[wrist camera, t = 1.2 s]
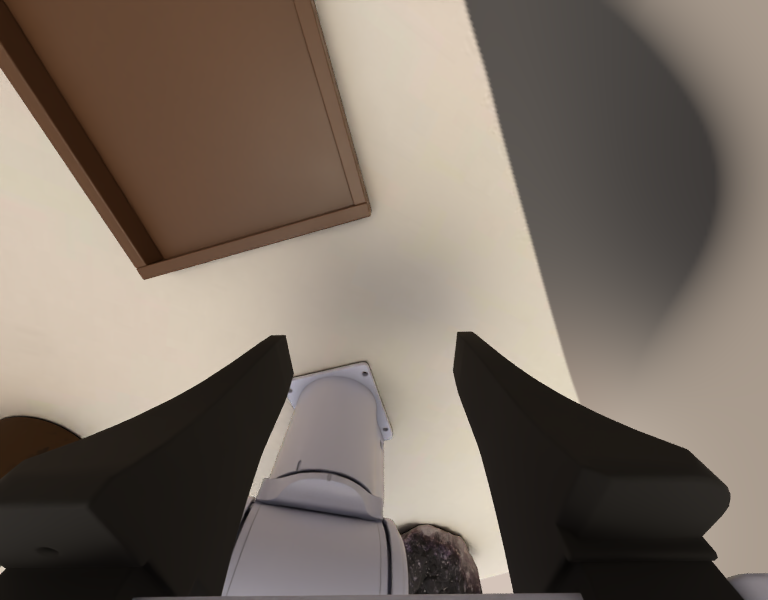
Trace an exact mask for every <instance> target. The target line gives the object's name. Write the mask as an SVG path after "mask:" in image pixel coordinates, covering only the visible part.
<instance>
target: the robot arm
mask: <svg viewBox="0 0 768 600" xmlns="http://www.w3.org/2000/svg"><path fill="white" fill-rule="evenodd" d="M363 372H367V373H363ZM453 373H454V377H455V382H456V386H457V390H458V394H459V396H460V399H461V402H462V405H463V407H464V410H465V413H466V415H467V418H468V421H469V423H470V426H471V428H472V431H473V434H474V436H475V439H476V442H477V445H478V448H479V451H480V454H481V457H482V461H483V465H484V468H485V472H486V476H487V480H488V483H489V487H490V491H491V495H492V499H493V503H494V507H495V511H496V516H497V520H498V524H499V529H500V533H501V537H502V541H503V546H504V550H505V555H506V560H507V564H508V569H509V574H510V578H511V583H512V588H513V593H514V594H416V595H408V567H407V558H406V552H405V547H404V543H403V540H402V537H401V535H400V534H399V532H398V529H397V527H396V525H395V523H394V522H393V520H391V519H389V518H383V505H384V441H385V440H390V439H392V438H393V431H392V429H391V426H390V423H389V420H388V418H387V415H386V412H385V409H384V406H383V404H382V401H381V398H380V395H379V393H378V390H377V387H376V384H375V381H374V379H373V376H372V373H371V370H370V368H369V365H368V364H367V363H365V362H361V363H357V364H352V365H348V366H343V367H339V368H335V369H330V370H326V371H321V372H317V373H313V374H308V375H304V376H299V377H295V378H293V374H294V372H293V368H292V363H291V358H290V354H289V349H288V344H287V340H286V335H271V336H269V337H268V338H266V339H265V340H263V341H262V342H260V343H259V344H257V345H256V346H255V347H253V348H252V349H250V350H249V351H248V352H246V353H245V354H243V355H242V356H240V357H239V358H238V359H236V360H235V361H233V362H232V363H230V364H229V365H227V366H226V367H224V368H223V369H221V370H220V371H218V372H217V373H215V374H214V375H212V376H211V377H209V378H208V379H206V380H204V381H203V382H201V383H199V384H198V385H196V386H194V387H193V388H191V389H189V390H187V391H185V392H184V393H182V394H180V395H178V396H176V397H174V398H173V399H171V400H169V401H167V402H165V403H163V404H161V405H158V406H156V407H154V408H152V409H150V410H148V411H146V412H144V413H142V414H140V415H138V416H136V417H134V418H131V419H129V420H127V421H124V422H122V423H120V424H118V425H115V426H113V427H110V428H108V429H106V430H103V431H101V432H98V433H96V434H93V435H91V436H88V437H86V438H83V439H81V440H78V441H75V442H72V443H70V444H67V445H64V446H61V447H59V448H56V449H53V450H50V451H48V452H45V453H42V454H39V455H37V456H34V457H31V458H28V459H25V460H23V461H22V462H21V463H19V464H18V465H17V466H16V467H14V468H13V469H12V470H11V471H10V472H8V473H7V474H6V475H5V476H4V477H2V478H1V479H0V565H1V566H3V567H4V568H6V569H5V570H4V571H3V572H2V573H1V575H0V600H768V573H759V574H758V573H757V574H739V575H735V576H731V577H728V578H727V579H726V578H725V577H724V575H723V574H722V573H721V572H720V570H719V569H718V568H717V567H716V566H715V564H714V563H713V562H712V561H714V560H716V559H717V558H718V557H717V554H716V552H715V551H714V550H713V548H712V547H711V546H710V545H709V544H708V543H707V541H706V540H705V539H704V538H703V537H702V536H703V535H704V534H705V533H706V532H707V531H708V530H709V529H710V528H711V526H713V525H714V523H715V522H716V521H717V520H718V519H719V518H720V517H721V516H722V515H723V514H724V512H725V511H726V510H727V508H728V507H729V503H730V492H729V490H728V487H727V486H726V485H725V484H724V483H723V482H722V481H721V480H720V479H719V478H718V477H717V476H715V475H714V474H713V473H712V472H711V471H710V470H709V469H708V468H707V467H706V466H705V465H704V464H703V463H702V462H700V461H699V460H698V459H697V458H696V457H695V456H694V455H693V454H692V453H691V452H690V451H689V450H687V449H685V448H682V447H680V446H677V445H674V444H671V443H669V442H666V441H664V440H661V439H658V438H656V437H653V436H650V435H648V434H645V433H642V432H640V431H637V430H635V429H633V428H630V427H628V426H626V425H623V424H621V423H619V422H616V421H614V420H611V419H609V418H607V417H605V416H603V415H601V414H598V413H596V412H594V411H592V410H590V409H588V408H586V407H584V406H582V405H580V404H578V403H576V402H574V401H572V400H570V399H568V398H567V397H565V396H563V395H561V394H559V393H557V392H556V391H554V390H552V389H551V388H549V387H547V386H546V385H544V384H542V383H541V382H539V381H537V380H536V379H534V378H533V377H531V376H530V375H528V374H527V373H525V372H524V371H523V370H521V369H520V368H518V367H517V366H515V365H514V364H513V363H511V362H510V361H509V360H507V359H506V358H505V357H503V356H502V355H501V354H500V353H498V352H497V351H496V350H495V349H493V348H492V347H491V346H490V345H488V344H487V343H486V342H485V341H483V340H482V339H481V338H480V337H479V336H477V335H476V334H475V333H473V332H457V340H456V349H455V358H454V366H453ZM290 389H292V390H290ZM287 397H288V399H289V401H290V403H291V404H292V406H293V408H294V413H293V415H292V418H291V421H290V423H289V426H288V429H287V431H286V434H285V437H284V439H283V442H282V445H281V447H280V450H279V453H278V455H277V458H276V461H275V463H274V466H273V469H272V471H271V474H270V477H269V478H264V479H263V482H262V484H261V487H260V489H259V492H258V495H257V497H256V500H255V497H251V496H249V492H250V489H251V486H252V483H253V480H254V477H255V474H256V471H257V467H258V464H259V461H260V458H261V456H262V453H263V451H264V448H265V446H266V443H267V441H268V439H269V437H270V434H271V432H272V430H273V428H274V425H275V423H276V421H277V419H278V416H279V414H280V412H281V409H282V407H283V405H284V403H285V400H286V398H287Z"/></svg>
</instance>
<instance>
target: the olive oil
mask: <svg viewBox="0 0 768 600" xmlns="http://www.w3.org/2000/svg"><path fill="white" fill-rule="evenodd" d="M78 440H80V439H79V438H78V437H76V436H75V435H74V434H72V433H71V432H69V431H67V430H65V429H64V428H62V427H60V426H57V425H55V424H53V423H50V422H47V421H43V420H40V419H35V418H29V417H10V418H5V419H1V420H0V479H1V478H2V477H4V476H5V475H6V474H7V473H8V472H10V471H11V470H12V469H13V468H14V467H16V466H17V465H18V464H19V463H21V462H22V461H23V460H25V459H28V458H31V457H34V456H37V455H39V454H42V453H45V452H48V451H50V450H53V449H56V448H59V447H61V446H64V445H67V444H70V443H72V442H75V441H78ZM0 567H1V565H0Z"/></svg>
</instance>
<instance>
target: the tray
mask: <svg viewBox="0 0 768 600" xmlns="http://www.w3.org/2000/svg"><path fill="white" fill-rule="evenodd" d="M0 68H1V69H2V71H3V72H4V74H5V75H6V77H7V78H8V80H9V81H10V83H11V84H12V85H13V87H14V88H15V90H16V91H17V93H18V94H19V96H20V97H21V99H22V100H23V102H24V103H25V105H26V106H27V108H28V109H29V111H30V112H31V114H32V115H33V117H34V118H35V120H36V121H37V122H38V124H39V125H40V127H41V128H42V130H43V131H44V133H45V134H46V136H47V137H48V139H49V140H50V142H51V143H52V145H53V146H54V148H55V149H56V151H57V152H58V154H59V155H60V157H61V158H62V159H63V161H64V162H65V164H66V165H67V167H68V168H69V170H70V171H71V173H72V174H73V176H74V177H75V179H76V180H77V182H78V183H79V185H80V186H81V188H82V189H83V191H84V192H85V193H86V195H87V196H88V198H89V199H90V201H91V202H92V204H93V205H94V207H95V208H96V210H97V211H98V213H99V214H100V216H101V217H102V219H103V220H104V222H105V223H106V225H107V226H108V228H109V229H110V230H111V232H112V233H113V235H114V236H115V238H116V239H117V241H118V242H119V244H120V245H121V247H122V248H123V250H124V251H125V253H126V254H127V256H128V257H129V259H130V260H131V262H132V263H133V265H134V266H135V267H136V268H137V271H138V272H139V274H140V275H141V277H142V278H143V279H144V280H145V279H149V278H153V277H156V276H160V275H163V274H167V273H170V272H174V271H177V270H181V269H184V268H188V267H191V266H195V265H199V264H202V263H206V262H209V261H213V260H216V259H220V258H223V257H227V256H230V255H234V254H238V253H241V252H245V251H248V250H252V249H255V248H259V247H262V246H266V245H269V244H273V243H277V242H280V241H284V240H287V239H291V238H294V237H298V236H301V235H305V234H308V233H312V232H316V231H319V230H323V229H326V228H330V227H333V226H337V225H340V224H344V223H347V222H351V221H355V220H358V219H362V218H365V217H369V216H370V215H371V207H370V203H369V199H368V196H367V192H366V188H365V185H364V181H363V177H362V174H361V170H360V167H359V163H358V159H357V156H356V152H355V148H354V145H353V141H352V137H351V134H350V130H349V127H348V123H347V119H346V116H345V112H344V108H343V105H342V101H341V97H340V94H339V90H338V87H337V83H336V79H335V76H334V72H333V68H332V65H331V61H330V57H329V54H328V50H327V46H326V43H325V39H324V36H323V32H322V28H321V25H320V21H319V17H318V14H317V10H316V6H315V3H314V0H0Z"/></svg>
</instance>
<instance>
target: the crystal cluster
mask: <svg viewBox="0 0 768 600" xmlns="http://www.w3.org/2000/svg"><path fill="white" fill-rule="evenodd" d="M401 537H402V540H403V543H404V547H405V552H406V558H407V567H408V595H416V594H482V589H481V584H480V579H479V574H478V569H477V566H476V564H475V562H474V560H473V557H472V556H471V554H470V553H469V552H468V549H467V545H466V543H465V542H464V540H463V539H462V538H461V537H459V536H456V535H453V534H451V533H450V532H449V533H448V532H446V531H443V530H441V529H439V528H436V527H434V526H432V525H429V524H427V525H419V526H417V527H415V528H413V529H411V530H410V531H408V532H406V533H404V534H402V535H401Z"/></svg>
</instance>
